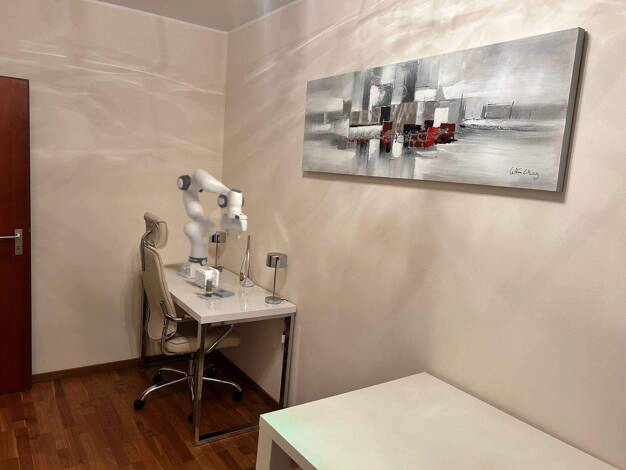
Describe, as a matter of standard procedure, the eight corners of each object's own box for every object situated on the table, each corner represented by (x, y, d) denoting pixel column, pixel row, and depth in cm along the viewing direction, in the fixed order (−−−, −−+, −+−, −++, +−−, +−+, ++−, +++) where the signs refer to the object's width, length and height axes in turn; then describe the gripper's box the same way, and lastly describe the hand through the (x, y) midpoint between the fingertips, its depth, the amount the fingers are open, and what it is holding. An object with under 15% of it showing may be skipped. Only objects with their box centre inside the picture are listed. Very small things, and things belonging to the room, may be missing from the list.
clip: (212, 288, 299) (212, 287, 299) (210, 288, 297) (210, 287, 297) (205, 285, 303) (205, 284, 303) (202, 286, 301) (202, 285, 301)
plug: (202, 296, 288) (204, 279, 287) (208, 295, 292) (209, 278, 291) (208, 297, 286) (209, 280, 284) (214, 296, 289) (215, 279, 288)
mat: (196, 296, 288) (196, 295, 288) (208, 294, 295) (208, 293, 295) (208, 300, 282) (208, 299, 282) (219, 297, 289) (219, 297, 289)
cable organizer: (218, 288, 312) (220, 270, 311) (203, 289, 305) (205, 271, 304) (208, 283, 323) (209, 266, 322) (193, 284, 317) (194, 267, 315)
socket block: (206, 293, 298) (206, 288, 297) (218, 290, 306) (218, 286, 306) (222, 298, 290) (222, 293, 289) (234, 295, 298) (234, 290, 297)
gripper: (219, 213, 311) (217, 234, 313) (242, 217, 299) (240, 239, 301) (226, 213, 316) (225, 234, 318) (249, 217, 304) (247, 238, 306)
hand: (232, 236), depth 309 cm, fingers open, 8 cm apart
